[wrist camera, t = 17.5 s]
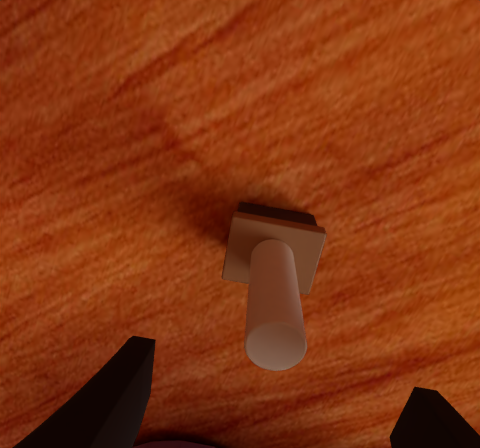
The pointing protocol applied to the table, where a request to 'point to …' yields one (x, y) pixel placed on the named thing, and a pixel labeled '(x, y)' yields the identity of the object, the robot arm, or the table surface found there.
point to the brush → (273, 279)
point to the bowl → (172, 445)
